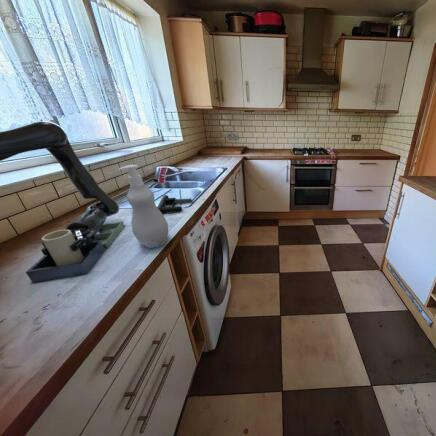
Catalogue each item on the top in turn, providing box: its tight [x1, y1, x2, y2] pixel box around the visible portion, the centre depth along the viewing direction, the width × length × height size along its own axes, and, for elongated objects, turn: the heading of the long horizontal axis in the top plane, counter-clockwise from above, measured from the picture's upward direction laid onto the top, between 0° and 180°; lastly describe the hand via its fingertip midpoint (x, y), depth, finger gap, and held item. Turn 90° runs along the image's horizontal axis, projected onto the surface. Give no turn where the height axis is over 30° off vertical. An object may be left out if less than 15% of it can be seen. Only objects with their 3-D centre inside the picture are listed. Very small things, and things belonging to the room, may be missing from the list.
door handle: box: [156, 194, 193, 214], centre depth 118 cm, size 3×20×16 cm
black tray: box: [25, 240, 106, 283], centre depth 74 cm, size 14×14×4 cm
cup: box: [41, 228, 84, 266], centre depth 72 cm, size 7×7×11 cm
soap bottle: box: [118, 164, 169, 249], centre depth 81 cm, size 17×12×29 cm
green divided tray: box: [96, 221, 125, 250], centre depth 88 cm, size 18×18×2 cm
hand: (59, 250), depth 70 cm, fingers closed on cup, 6 cm apart
